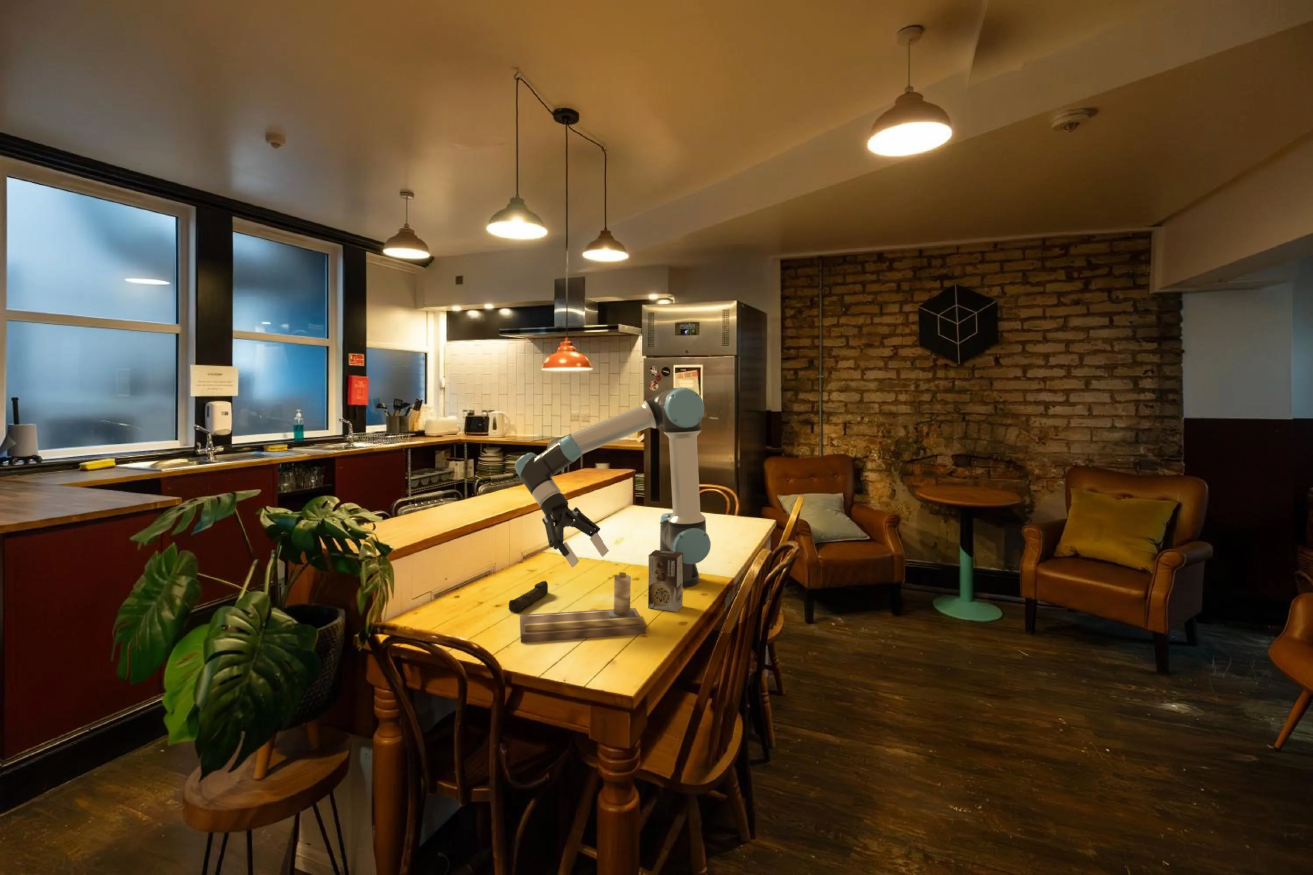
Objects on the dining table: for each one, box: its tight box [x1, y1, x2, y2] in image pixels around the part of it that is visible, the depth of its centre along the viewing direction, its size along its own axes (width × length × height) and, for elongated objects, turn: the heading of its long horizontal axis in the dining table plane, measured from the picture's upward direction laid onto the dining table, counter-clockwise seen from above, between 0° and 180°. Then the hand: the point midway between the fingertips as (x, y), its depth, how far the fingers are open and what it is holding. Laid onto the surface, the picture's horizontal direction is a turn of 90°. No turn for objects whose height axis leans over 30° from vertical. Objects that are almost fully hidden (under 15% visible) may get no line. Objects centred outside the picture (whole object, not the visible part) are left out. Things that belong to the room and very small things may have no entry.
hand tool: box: [508, 580, 549, 614], centre depth 184 cm, size 19×4×5 cm, turn 158°
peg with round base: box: [609, 571, 635, 619], centre depth 168 cm, size 7×7×12 cm
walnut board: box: [519, 607, 647, 643], centre depth 165 cm, size 32×14×4 cm, turn 103°
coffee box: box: [647, 549, 684, 613], centre depth 182 cm, size 9×6×16 cm
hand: (591, 558), depth 173 cm, fingers open, 13 cm apart
